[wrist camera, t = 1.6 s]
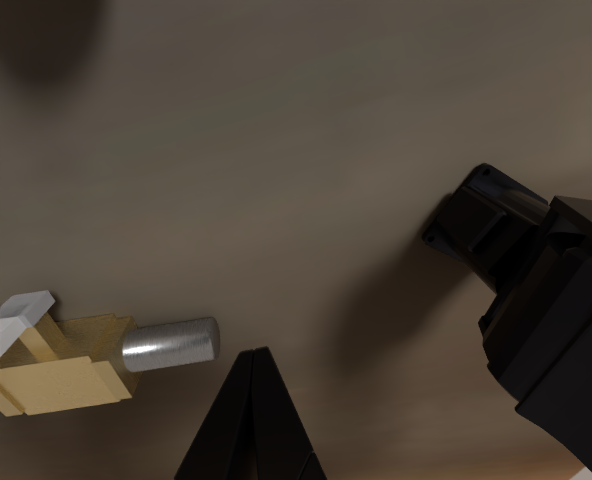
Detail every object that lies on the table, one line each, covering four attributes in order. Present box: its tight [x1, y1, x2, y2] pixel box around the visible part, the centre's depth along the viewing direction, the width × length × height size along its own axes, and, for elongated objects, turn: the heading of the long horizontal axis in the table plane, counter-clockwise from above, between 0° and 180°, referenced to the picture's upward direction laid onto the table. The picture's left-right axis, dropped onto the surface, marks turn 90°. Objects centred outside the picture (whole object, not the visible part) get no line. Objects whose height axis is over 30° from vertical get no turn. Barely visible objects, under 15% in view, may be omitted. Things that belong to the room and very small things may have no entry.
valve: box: [0, 312, 220, 417], centre depth 23 cm, size 22×8×4 cm, turn 97°
